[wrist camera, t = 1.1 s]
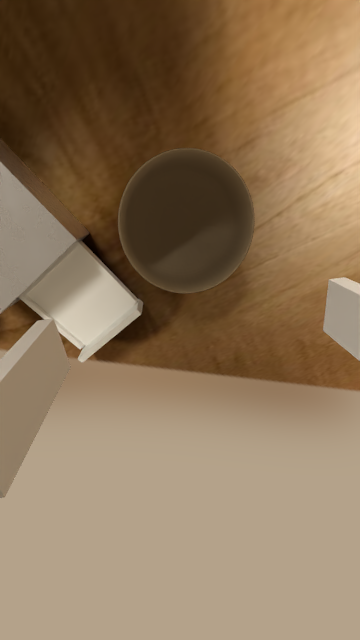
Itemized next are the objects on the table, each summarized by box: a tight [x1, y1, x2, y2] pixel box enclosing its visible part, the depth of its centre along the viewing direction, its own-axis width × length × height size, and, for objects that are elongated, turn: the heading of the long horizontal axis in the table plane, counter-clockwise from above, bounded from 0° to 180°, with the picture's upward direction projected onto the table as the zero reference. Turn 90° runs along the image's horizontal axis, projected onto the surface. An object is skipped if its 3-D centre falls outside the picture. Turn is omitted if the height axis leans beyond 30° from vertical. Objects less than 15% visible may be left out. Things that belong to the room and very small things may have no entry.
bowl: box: [118, 148, 254, 293], centre depth 29 cm, size 13×13×10 cm
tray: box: [18, 240, 143, 363], centre depth 34 cm, size 15×11×4 cm
